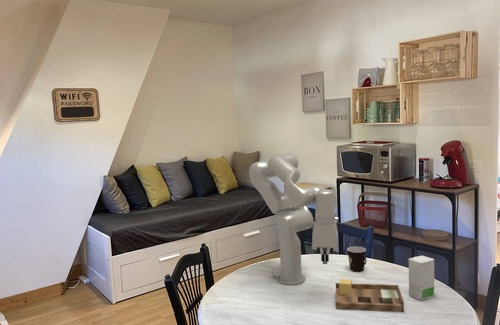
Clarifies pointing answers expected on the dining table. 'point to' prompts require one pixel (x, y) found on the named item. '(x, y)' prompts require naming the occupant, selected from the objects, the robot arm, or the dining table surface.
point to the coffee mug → (357, 258)
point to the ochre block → (345, 286)
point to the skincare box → (421, 277)
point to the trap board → (371, 298)
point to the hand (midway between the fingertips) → (324, 263)
